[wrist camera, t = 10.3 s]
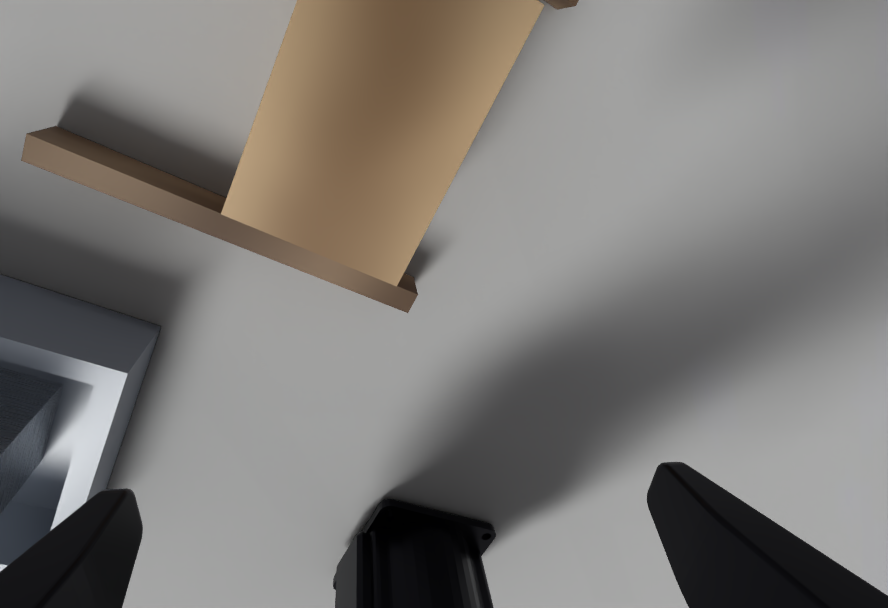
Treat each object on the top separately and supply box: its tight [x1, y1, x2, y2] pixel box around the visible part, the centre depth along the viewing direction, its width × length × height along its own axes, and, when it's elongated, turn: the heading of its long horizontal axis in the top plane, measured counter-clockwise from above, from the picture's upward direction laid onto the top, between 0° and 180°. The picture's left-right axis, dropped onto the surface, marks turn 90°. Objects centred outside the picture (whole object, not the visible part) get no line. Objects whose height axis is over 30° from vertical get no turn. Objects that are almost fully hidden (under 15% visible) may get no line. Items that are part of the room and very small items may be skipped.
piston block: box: [221, 0, 544, 286], centre depth 14 cm, size 5×8×4 cm, turn 152°
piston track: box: [21, 0, 579, 313], centre depth 14 cm, size 17×13×2 cm
